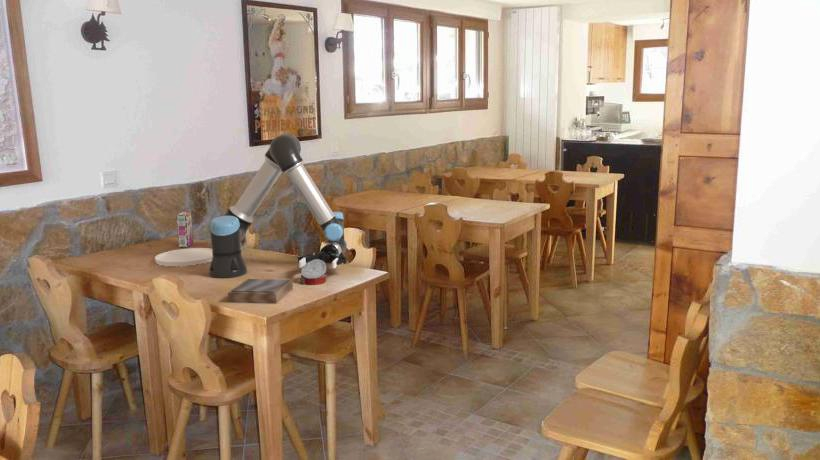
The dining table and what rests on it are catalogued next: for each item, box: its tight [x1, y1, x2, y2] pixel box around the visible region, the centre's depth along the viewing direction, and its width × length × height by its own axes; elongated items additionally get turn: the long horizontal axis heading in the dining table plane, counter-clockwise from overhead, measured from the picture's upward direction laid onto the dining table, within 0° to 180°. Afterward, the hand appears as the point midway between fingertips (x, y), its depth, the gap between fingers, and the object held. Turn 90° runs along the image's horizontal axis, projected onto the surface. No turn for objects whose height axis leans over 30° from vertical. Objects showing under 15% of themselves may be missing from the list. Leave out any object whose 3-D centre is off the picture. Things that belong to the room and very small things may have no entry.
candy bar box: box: [176, 211, 194, 249], centre depth 342 cm, size 11×5×16 cm, turn 5°
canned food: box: [300, 259, 328, 286], centre depth 270 cm, size 11×10×10 cm
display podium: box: [227, 278, 294, 304], centre depth 253 cm, size 18×18×4 cm
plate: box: [154, 247, 213, 268], centre depth 314 cm, size 28×28×2 cm
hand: (316, 264), depth 271 cm, fingers open, 13 cm apart
